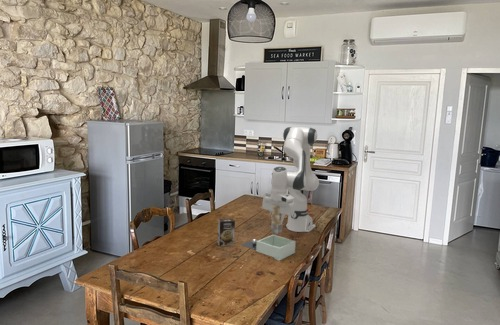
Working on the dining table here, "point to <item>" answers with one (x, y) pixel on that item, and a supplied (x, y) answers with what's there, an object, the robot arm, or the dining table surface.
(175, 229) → the dining table surface
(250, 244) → the stud plate
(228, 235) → the coffee box
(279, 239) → the bin
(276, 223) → the strut
